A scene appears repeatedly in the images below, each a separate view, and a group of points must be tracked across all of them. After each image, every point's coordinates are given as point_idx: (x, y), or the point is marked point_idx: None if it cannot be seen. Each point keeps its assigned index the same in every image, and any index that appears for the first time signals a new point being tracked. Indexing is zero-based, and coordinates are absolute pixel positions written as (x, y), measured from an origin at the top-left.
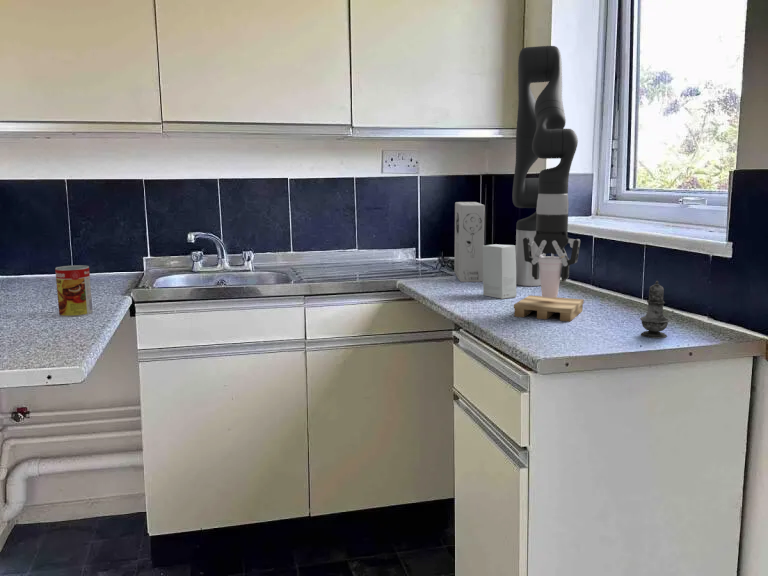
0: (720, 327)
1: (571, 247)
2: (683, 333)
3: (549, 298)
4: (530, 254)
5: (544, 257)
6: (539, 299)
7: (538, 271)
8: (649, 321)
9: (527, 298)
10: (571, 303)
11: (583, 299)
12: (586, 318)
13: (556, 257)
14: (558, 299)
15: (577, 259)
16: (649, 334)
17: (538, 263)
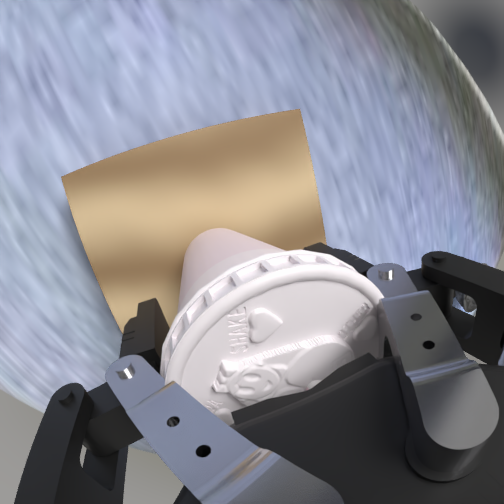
0: (499, 144)
1: (500, 358)
2: (480, 228)
3: (171, 181)
4: (78, 434)
5: (218, 392)
6: (151, 236)
7: (163, 337)
8: (471, 311)
9: (99, 253)
10: (299, 223)
11: (298, 109)
12: (334, 223)
13: (341, 360)
14: (216, 176)
15: (456, 260)
16: (454, 294)
17: (154, 365)
